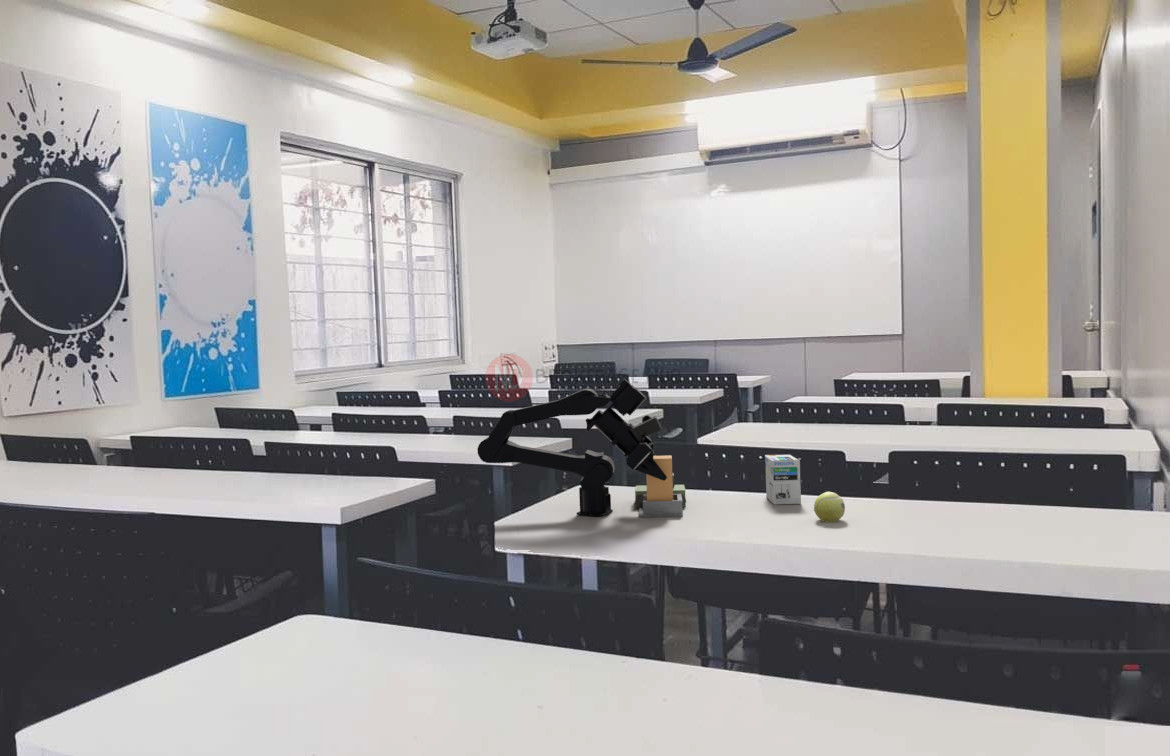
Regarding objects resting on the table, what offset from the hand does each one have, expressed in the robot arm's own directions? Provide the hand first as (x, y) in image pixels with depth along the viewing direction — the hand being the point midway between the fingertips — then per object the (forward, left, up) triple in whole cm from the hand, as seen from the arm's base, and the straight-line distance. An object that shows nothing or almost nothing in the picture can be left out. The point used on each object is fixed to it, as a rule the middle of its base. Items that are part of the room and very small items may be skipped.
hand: (665, 476), depth 211 cm
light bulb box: (+21, +23, -9) cm, 32 cm away
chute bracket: (-1, -1, -9) cm, 9 cm away
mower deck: (-6, +9, -9) cm, 14 cm away
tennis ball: (+37, +4, -9) cm, 38 cm away
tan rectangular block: (-1, -1, -8) cm, 8 cm away
